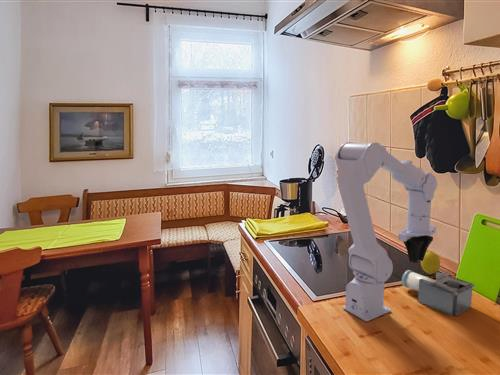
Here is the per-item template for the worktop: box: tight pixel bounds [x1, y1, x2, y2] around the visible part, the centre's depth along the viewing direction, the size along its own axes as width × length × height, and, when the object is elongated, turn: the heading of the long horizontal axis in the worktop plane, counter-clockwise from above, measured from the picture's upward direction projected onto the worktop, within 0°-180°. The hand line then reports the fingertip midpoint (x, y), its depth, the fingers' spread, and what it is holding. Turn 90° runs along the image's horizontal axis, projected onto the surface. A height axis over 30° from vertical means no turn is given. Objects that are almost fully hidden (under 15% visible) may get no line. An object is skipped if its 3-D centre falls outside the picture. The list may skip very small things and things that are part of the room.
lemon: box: [420, 250, 441, 276], centre depth 107 cm, size 6×6×8 cm
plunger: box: [447, 280, 460, 289], centre depth 86 cm, size 3×3×2 cm
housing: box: [417, 271, 476, 317], centre depth 88 cm, size 10×9×6 cm
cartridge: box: [401, 269, 436, 292], centre depth 94 cm, size 10×5×5 cm, turn 31°
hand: (416, 260), depth 95 cm, fingers closed
